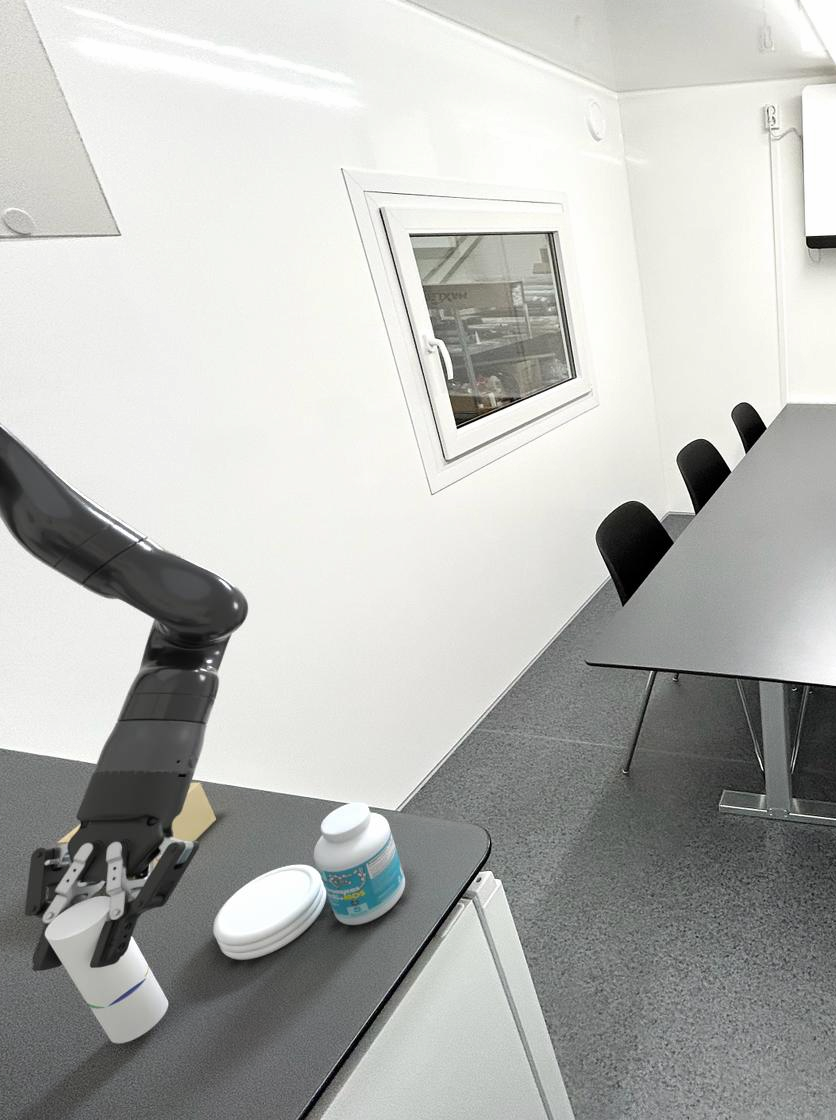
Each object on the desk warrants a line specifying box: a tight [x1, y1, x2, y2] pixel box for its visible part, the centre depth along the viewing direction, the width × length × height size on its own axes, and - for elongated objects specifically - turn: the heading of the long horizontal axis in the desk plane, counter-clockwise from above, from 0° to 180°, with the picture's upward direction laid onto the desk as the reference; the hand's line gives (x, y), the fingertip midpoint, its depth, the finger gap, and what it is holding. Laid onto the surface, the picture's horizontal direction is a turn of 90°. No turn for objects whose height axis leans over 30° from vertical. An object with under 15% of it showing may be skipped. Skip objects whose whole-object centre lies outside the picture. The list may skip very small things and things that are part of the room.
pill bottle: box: [313, 802, 406, 926], centre depth 75 cm, size 8×7×14 cm
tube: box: [45, 895, 169, 1044], centre depth 61 cm, size 4×4×15 cm
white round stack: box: [212, 864, 327, 961], centre depth 74 cm, size 10×10×4 cm
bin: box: [56, 782, 217, 882], centre depth 83 cm, size 9×9×7 cm
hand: (76, 966), depth 58 cm, fingers closed on tube, 4 cm apart
